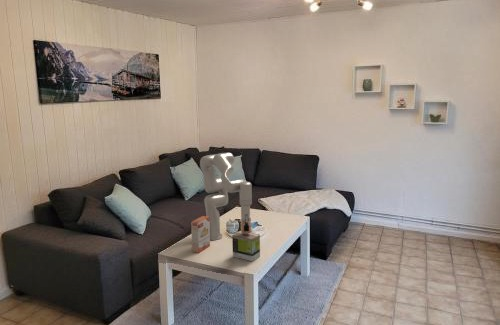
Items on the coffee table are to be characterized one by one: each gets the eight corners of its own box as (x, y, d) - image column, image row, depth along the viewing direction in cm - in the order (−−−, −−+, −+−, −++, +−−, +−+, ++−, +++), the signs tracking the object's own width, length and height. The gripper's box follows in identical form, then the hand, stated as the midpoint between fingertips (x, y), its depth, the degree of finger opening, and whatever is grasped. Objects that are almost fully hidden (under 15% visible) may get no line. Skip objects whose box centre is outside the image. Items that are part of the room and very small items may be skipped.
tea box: (260, 256, 247) (260, 234, 244) (252, 262, 238) (251, 239, 236) (240, 251, 255) (240, 229, 252) (232, 256, 246) (231, 234, 244)
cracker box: (199, 253, 251) (198, 223, 247) (191, 252, 254) (190, 221, 250) (210, 245, 264) (209, 216, 260) (203, 244, 266) (202, 215, 262)
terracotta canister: (241, 234, 240) (241, 220, 239) (240, 230, 246) (240, 217, 245) (251, 233, 241) (251, 220, 239) (250, 230, 247) (250, 216, 245)
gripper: (238, 198, 248) (239, 224, 251) (240, 206, 231) (240, 234, 234) (250, 197, 249) (250, 224, 252) (253, 205, 232) (253, 234, 235)
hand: (246, 229), depth 243 cm, fingers closed on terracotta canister, 6 cm apart
